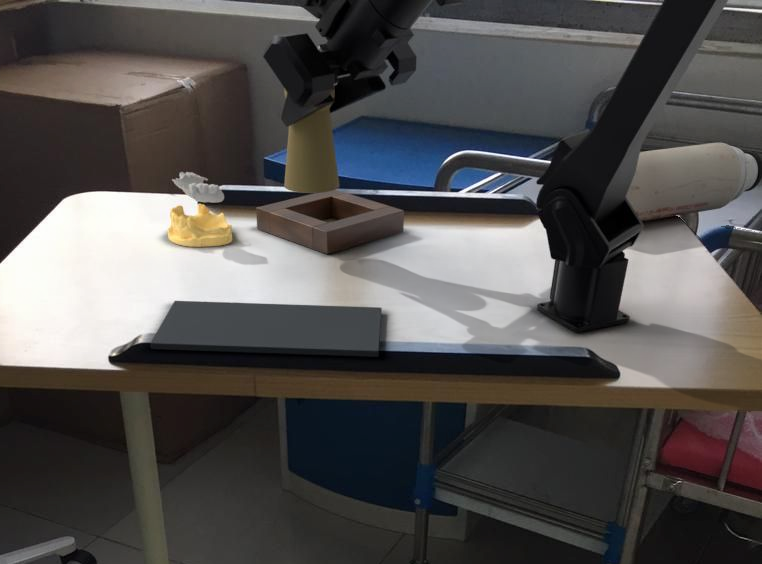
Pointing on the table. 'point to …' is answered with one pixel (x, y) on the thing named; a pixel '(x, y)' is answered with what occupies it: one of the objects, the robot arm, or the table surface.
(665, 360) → the table surface
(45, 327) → the table surface
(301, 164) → the cork
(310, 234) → the square wooden frame
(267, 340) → the slate mat
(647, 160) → the thermos bottle
